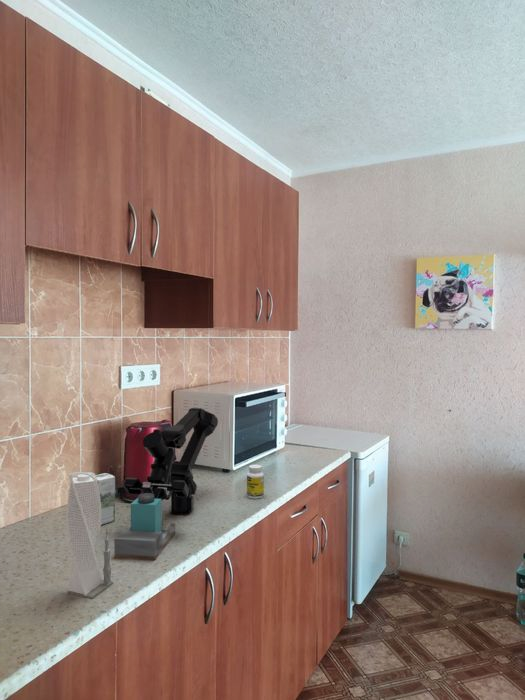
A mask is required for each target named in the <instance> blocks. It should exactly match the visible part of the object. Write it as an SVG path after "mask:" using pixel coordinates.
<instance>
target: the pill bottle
mask: <svg viewBox="0 0 525 700" xmlns="http://www.w3.org/2000/svg"><path fill="white" fill-rule="evenodd" d="M264 478H265V473H264V472H263V466H262V465H260V464H251V465H249V466H248V472H247V473H246V496H247V497H248V498H249V499H252V500H253V499H254V500H257V499H261V498H263V497H264V495H265V494H264V493H265V488H264V487H265V484H264V483H265V479H264Z"/></svg>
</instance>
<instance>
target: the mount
mask: <svg viewBox="0 0 525 700" xmlns="http://www.w3.org/2000/svg"><path fill="white" fill-rule="evenodd" d="M175 535H176V523H170V524H169V525H168V527H167V528H166V529H162V532H155V531H137V530H131V529H123V530H122V531H121V532H119V534H118V535H117V536H115V538H114V543H113V544H114V558H115V559H131V560H147V561H156V560H157V558H158V557H159V555H160V554H161V553H162V552H163V550H164V549H165V548H166V547H167V545H168V544H169V542H171V539H172V538H173V537H174V536H175Z"/></svg>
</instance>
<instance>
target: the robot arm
mask: <svg viewBox="0 0 525 700" xmlns="http://www.w3.org/2000/svg"><path fill="white" fill-rule="evenodd" d="M218 422H219V420H218V417H217V416H216V415H215V414H213V413H211V412H209V411H206V410H205V409H204V408H202V407H191V408H189V409H188V412H187V413H186V414H184V416H183V417H181V418H180V419H179V421H177V422H176V424H175V425H170V426H167V427H165V428H164V429H162V430H161V429H155V428H153V431H152V432H150V433H148V434H147V435H145V437H143V439H142V445H143V447H144V448H145V450H146V451H147V453H149V455H150V456H151V457H152V458H154V459H153V462H152V463H151V464H150V468H151V470H150V474H149V475H148V476H147V478H146V481H143V482H141V481H140V479H139V478H138V477H126V478H125V479H123V480H124V481H123V483H122V487H123V488H124V490H125V491H126V493H127V494H128V495H133V496H138V495H140V494H143V493H152V494H154V499H161V502H162V501H163V500H165V501H169V500H170V503H171V504H170V507H171V510H170V511H169V515H187V516H188V515H190V514H191V513H192V511H193V509H194V507H195V506H194V504H195V503H194V501H195V500H194V498H195V497H194V496H193V495H196V492H197V488H198V486H197V483H196V482H195V480H194V474H193V469H194V467H195V464H196V461H197V459H198V457H199V455H200V451H201V450H202V447H203V445H204V443H205V441H206V438H207V437H209V436H211V435H212V434H213V433H214V432H215V430H216V428H217V427H218V424H219V423H218ZM192 430H193V432H192V435H191V436H190V438H189V440H188V443H187V444H186V442H187V438H186V437H187V435H188V434H189V433H190V432H191V431H192ZM185 444H186V447H185V449H184V451H183V454H182V456H181V457H180V460H179V462H178V463H174V461H177V456H176V453H175V451H174V449H179V450H180V449H181V448H182V447H183V446H184V445H185Z"/></svg>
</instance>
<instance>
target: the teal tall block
mask: <svg viewBox="0 0 525 700" xmlns="http://www.w3.org/2000/svg"><path fill="white" fill-rule="evenodd" d="M162 509H163V508H162V501H161V499H154V494H152V493H140V494H139V495H137V497H136V499H135V500H133V501H132V502H131V503H130V530H137V531H155V532H162V530H163V528H162V527H163V526H162V521H163V519H162V512H163V511H162Z"/></svg>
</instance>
